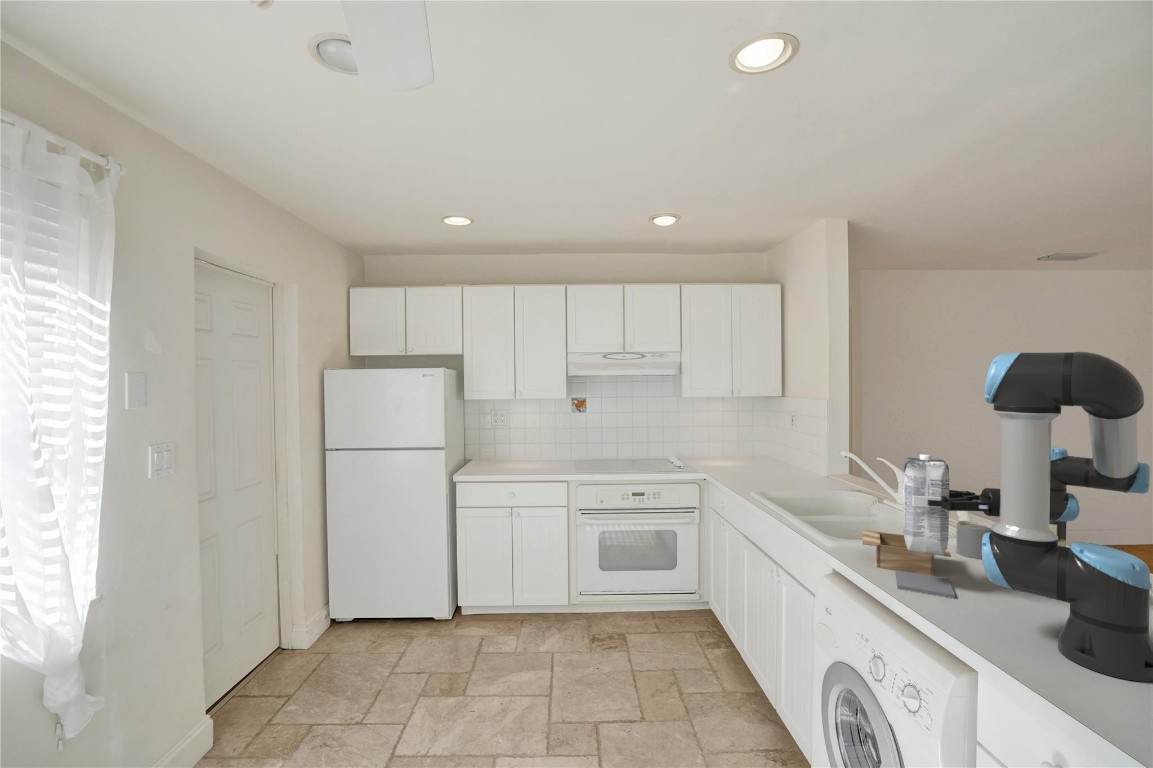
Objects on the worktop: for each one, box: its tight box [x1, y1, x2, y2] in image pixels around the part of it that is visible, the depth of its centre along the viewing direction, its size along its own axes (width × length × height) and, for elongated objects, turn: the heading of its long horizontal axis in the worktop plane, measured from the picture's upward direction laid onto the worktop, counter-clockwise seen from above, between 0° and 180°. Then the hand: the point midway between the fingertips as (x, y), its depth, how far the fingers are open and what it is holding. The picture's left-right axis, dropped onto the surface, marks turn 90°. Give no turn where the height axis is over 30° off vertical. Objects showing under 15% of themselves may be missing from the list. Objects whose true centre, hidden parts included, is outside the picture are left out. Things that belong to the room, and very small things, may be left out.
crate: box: [862, 529, 952, 576], centre depth 165 cm, size 16×23×7 cm
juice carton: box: [902, 454, 950, 557], centre depth 149 cm, size 9×10×27 cm
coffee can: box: [1049, 520, 1068, 547], centre depth 169 cm, size 10×10×14 cm
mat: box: [895, 570, 956, 599], centre depth 149 cm, size 13×13×1 cm
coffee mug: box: [955, 520, 993, 561], centre depth 173 cm, size 13×10×10 cm
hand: (907, 496), depth 150 cm, fingers closed on juice carton, 10 cm apart
